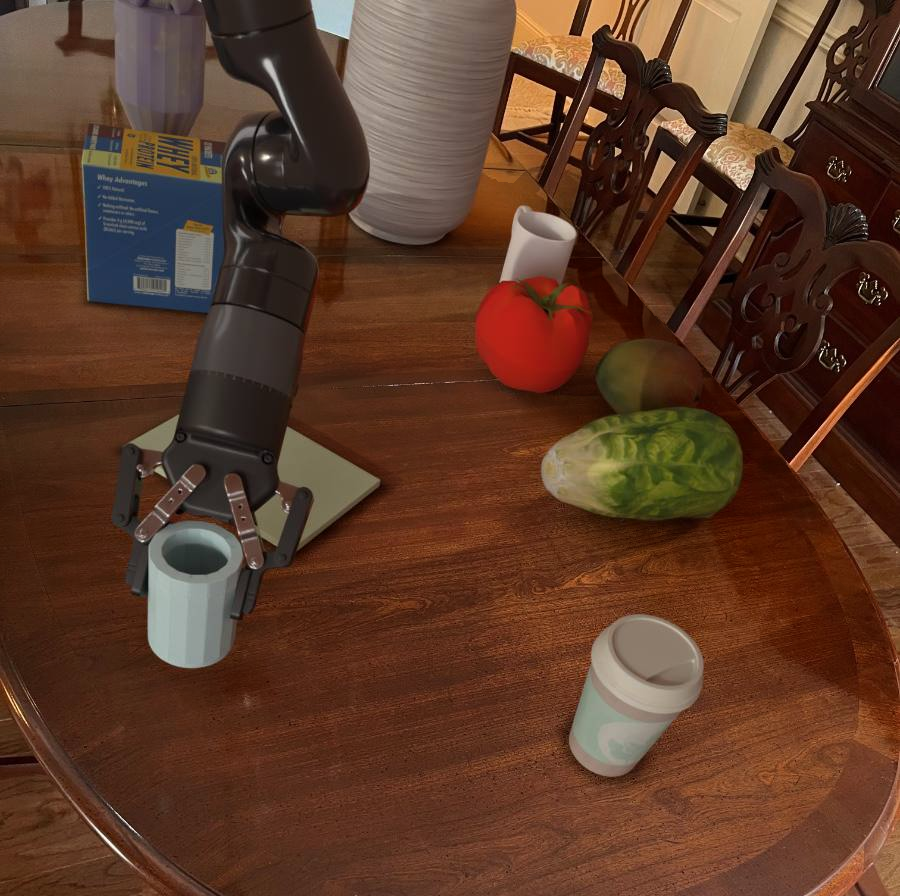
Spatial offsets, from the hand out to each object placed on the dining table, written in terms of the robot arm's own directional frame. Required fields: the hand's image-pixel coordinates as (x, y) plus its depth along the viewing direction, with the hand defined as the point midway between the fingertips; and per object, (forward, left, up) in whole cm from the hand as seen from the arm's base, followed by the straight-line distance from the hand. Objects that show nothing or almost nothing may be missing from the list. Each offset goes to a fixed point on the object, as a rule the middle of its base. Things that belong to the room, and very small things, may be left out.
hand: (187, 607), depth 71 cm
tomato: (-2, +60, -8) cm, 61 cm away
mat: (-13, +23, -8) cm, 28 cm away
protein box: (-42, +41, -8) cm, 59 cm away
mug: (-12, +78, -8) cm, 80 cm away
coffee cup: (+29, +16, -8) cm, 35 cm away
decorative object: (-57, +57, -8) cm, 81 cm away
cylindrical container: (-1, +1, -5) cm, 5 cm away
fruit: (+11, +63, -8) cm, 65 cm away
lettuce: (+17, +46, -8) cm, 50 cm away
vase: (-34, +81, -8) cm, 89 cm away
